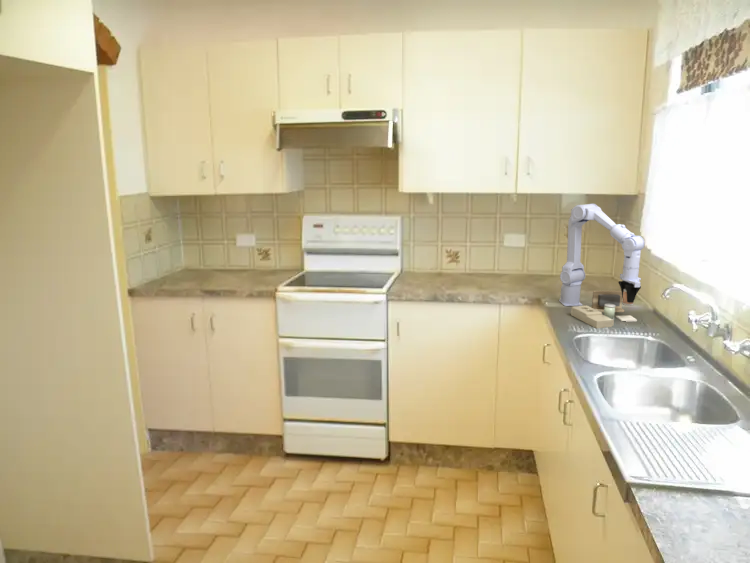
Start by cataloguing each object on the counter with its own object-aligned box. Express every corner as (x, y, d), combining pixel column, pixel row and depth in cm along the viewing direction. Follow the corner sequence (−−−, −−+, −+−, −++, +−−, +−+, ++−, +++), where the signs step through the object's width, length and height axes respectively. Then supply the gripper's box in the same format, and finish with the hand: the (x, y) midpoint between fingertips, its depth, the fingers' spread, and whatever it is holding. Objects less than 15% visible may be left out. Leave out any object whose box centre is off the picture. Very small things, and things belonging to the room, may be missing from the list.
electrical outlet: (597, 319, 219) (571, 306, 236) (596, 329, 219) (570, 315, 237) (614, 317, 220) (587, 305, 237) (613, 327, 221) (586, 314, 238)
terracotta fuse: (627, 302, 231) (628, 287, 229) (635, 304, 227) (636, 290, 226) (620, 303, 229) (621, 288, 228) (627, 306, 226) (629, 291, 224)
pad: (615, 317, 233) (615, 315, 233) (630, 316, 233) (630, 315, 233) (621, 321, 227) (621, 320, 227) (637, 321, 227) (637, 319, 227)
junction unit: (590, 308, 244) (592, 290, 242) (619, 308, 244) (621, 290, 242) (595, 312, 240) (596, 293, 238) (624, 312, 239) (626, 293, 237)
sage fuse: (601, 317, 232) (603, 303, 231) (611, 317, 232) (613, 303, 231) (605, 320, 228) (606, 306, 227) (615, 320, 228) (617, 306, 227)
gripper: (649, 271, 218) (646, 305, 221) (633, 263, 232) (630, 295, 235) (631, 271, 218) (627, 305, 221) (615, 263, 232) (613, 296, 235)
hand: (627, 300), depth 228 cm, fingers closed on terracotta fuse, 4 cm apart
